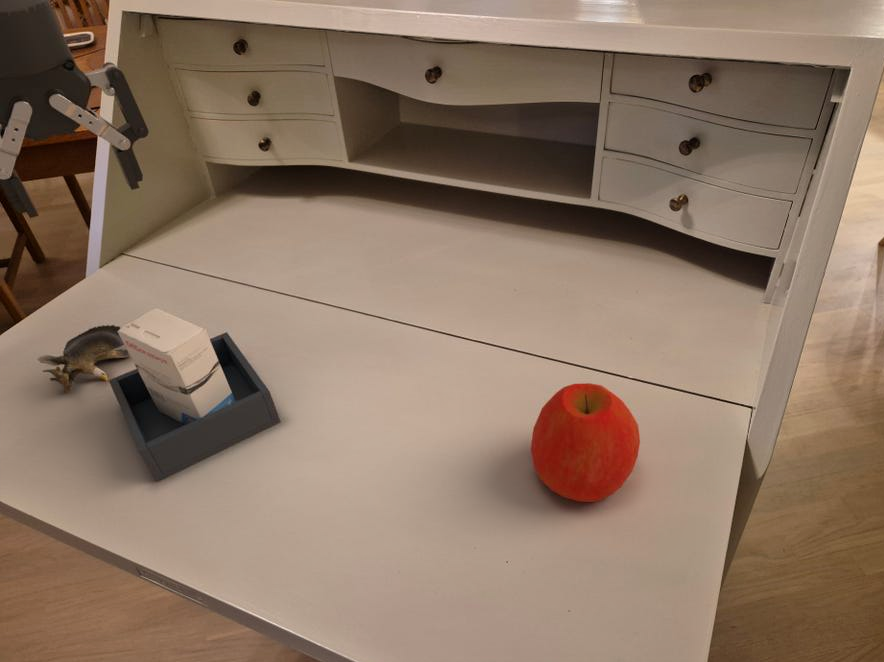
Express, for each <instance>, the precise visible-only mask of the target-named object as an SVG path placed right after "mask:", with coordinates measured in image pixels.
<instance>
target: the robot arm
mask: <svg viewBox="0 0 884 662" xmlns="http://www.w3.org/2000/svg"><path fill="white" fill-rule="evenodd" d="M93 87H97V88H99V89H101V91H102V93H104V94H105V95H106V96H109V97H114V98H115V101H116V103H117V105H118V107H119V110H120V112H121V114H122V116H123V118H124V120H125V123H124V124H123V125H121V126H120V127H117V126H115V125H114V124H112V123H111V122H109V121H108V120H106V119H105V118H104V117H102V116H101V115H100V114H99V113H97V112H95V111H94V110H93V109H91V108H90V107H88V104H89V101H90V97H91V94H92V90H93ZM80 127H83V128H85V129H86V130H88V131H89V132H91V133H92V134H94V135H95V136H97V137H100V138H102V140H103V139H104V141H106V142H108V143H109V144H111V148H112V151H113V153H114V155H115V158H116V161H117V163H118V165H119V167H120V170H121V172H122V175H123V177H124V179H125V181H126V183H127V186H128V187H129V189H130V190H131V191H134V190H137V189H140V185H139V182H142V181H143V176H144V175H143V172H142V170H141V167H140V165H139V162H138V159H137V157H136V155H135V152H134V149H133V147H134V146H133V145H134V144H135V142H137V141H138V140H139V139H144V138H146V137H148V135H149V133H150V131H149V129H148V126H147V123H146V121H145V119H144V116H143V114H142V112H141V111H140V108H139V105H138V104H137V101H136V99H135V97H134V95H133V92H132V90H131V88H130V85H129V83H128V81H127V78H126V76H125V74H124V72H123V71H122V70H121V69H120V68H119V67H118V66H117V65H116V64H115V63H113V62H104V63H103V65H102V67H101V68H97V69H94V70H89V71H86V72H84V71H82V69H80V68H79V66H78V65H77V63H76V61H75V59H74V56H73V54H72V52H71V49H70V47H69V45H68V42H67V39H66V37H65V35H64V33H63V30H62V28H61V25H60V23H59V21H58V18H57V15H56V14H55V11H54V8H53V7H52V4H51V2H50V0H0V185H1V187H2V189H3V190H4V192H5V194H6V196H7V198H8V200H9V201H10V203H11V206H13V209H14V210H15V211H16V212H18V214H20V215H21V214H24V213H27V216H28V218H29V219H32V218H37V217H39V216H40V215H39V213H38V210H37V208H36V206H35V204H34V202H33V201H32V198H31V197H30V194H29V193H28V191H27V189H26V186H25V185H24V183H23V182H22V179H21V178H20V176H19V174H18V172H17V171H16V168H15V164H16V161H17V158H18V156H19V154H20V152H21V148H22V146H23V141H24V139H25V140H29V141H30V140H31V141H34V142H40V141H46V140H47V139H49V138H51V137H53V136H67V135H72V134H75V133H76V131H77V130H78V129H79V128H80Z"/></svg>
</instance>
